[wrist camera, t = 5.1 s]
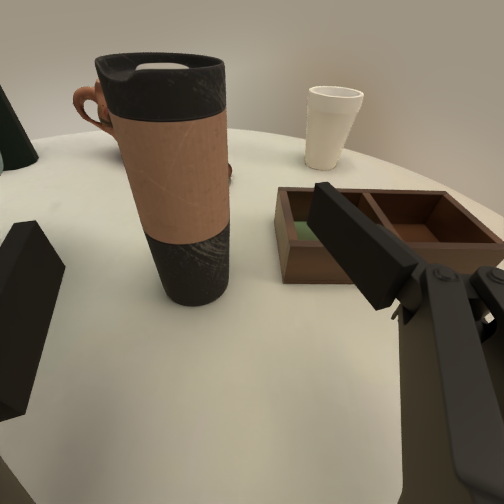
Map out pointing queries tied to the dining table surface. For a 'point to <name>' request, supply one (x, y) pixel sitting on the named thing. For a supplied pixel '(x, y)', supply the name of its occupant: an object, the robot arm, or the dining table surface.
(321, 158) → the foam cup
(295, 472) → the dining table surface
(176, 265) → the travel mug
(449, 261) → the divided box
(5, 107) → the wine bottle
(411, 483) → the robot arm
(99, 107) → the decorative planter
